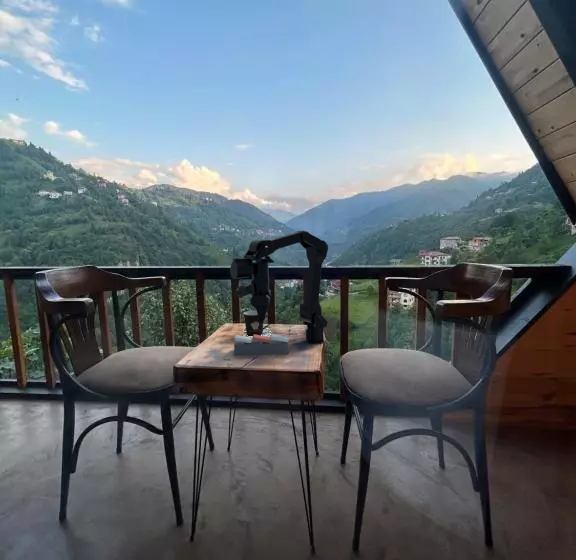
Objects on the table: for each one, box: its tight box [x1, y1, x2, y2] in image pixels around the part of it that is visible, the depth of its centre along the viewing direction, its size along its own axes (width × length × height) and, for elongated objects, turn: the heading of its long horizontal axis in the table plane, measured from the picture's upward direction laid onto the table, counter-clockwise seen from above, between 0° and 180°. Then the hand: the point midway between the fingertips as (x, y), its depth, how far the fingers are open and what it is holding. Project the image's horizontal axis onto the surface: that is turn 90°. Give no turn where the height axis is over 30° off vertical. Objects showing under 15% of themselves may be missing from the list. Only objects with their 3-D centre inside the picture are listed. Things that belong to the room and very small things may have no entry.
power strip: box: [233, 336, 289, 357], centre depth 130 cm, size 19×8×5 cm, turn 92°
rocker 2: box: [270, 333, 289, 343], centre depth 128 cm, size 6×4×1 cm, turn 91°
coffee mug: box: [243, 310, 274, 336], centre depth 150 cm, size 12×9×10 cm
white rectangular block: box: [233, 334, 252, 343], centre depth 128 cm, size 6×4×1 cm, turn 91°
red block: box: [253, 334, 271, 343], centre depth 128 cm, size 6×4×1 cm, turn 91°
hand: (261, 320), depth 128 cm, fingers open, 7 cm apart
